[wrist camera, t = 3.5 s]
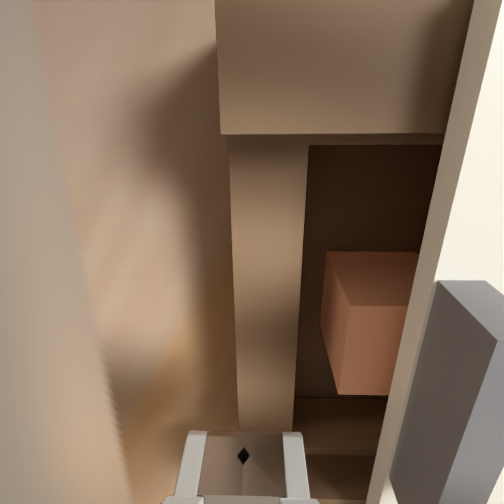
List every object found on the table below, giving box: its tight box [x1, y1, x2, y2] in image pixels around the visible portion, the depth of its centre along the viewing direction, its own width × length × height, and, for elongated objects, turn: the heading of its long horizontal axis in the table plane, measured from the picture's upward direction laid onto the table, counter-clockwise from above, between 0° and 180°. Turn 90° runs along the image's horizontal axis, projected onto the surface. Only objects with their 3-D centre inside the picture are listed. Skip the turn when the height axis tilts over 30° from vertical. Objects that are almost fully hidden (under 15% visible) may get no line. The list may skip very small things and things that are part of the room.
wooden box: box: [215, 0, 474, 504], centre depth 14 cm, size 21×16×5 cm
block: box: [320, 252, 419, 395], centre depth 14 cm, size 4×4×4 cm
